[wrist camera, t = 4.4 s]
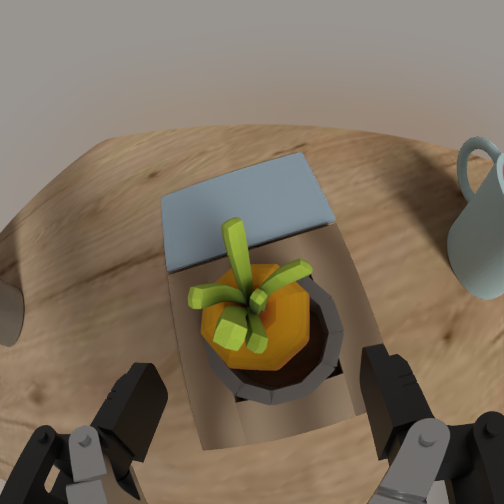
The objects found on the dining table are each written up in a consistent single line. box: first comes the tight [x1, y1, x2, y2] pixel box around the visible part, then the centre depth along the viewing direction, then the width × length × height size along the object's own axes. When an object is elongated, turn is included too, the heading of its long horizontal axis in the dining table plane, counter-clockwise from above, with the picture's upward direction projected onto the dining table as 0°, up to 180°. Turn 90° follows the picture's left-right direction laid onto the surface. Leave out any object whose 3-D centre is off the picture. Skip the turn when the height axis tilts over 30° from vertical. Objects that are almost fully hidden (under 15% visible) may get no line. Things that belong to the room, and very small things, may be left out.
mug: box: [447, 137, 504, 300], centre depth 16 cm, size 14×9×10 cm
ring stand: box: [168, 224, 383, 450], centre depth 19 cm, size 15×15×4 cm
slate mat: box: [161, 152, 336, 273], centre depth 26 cm, size 16×9×1 cm, turn 104°
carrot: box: [188, 217, 313, 371], centre depth 14 cm, size 5×5×15 cm
